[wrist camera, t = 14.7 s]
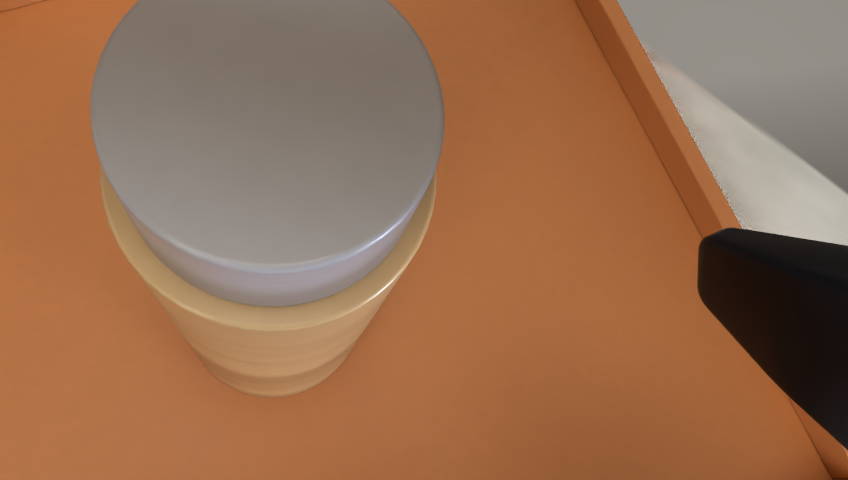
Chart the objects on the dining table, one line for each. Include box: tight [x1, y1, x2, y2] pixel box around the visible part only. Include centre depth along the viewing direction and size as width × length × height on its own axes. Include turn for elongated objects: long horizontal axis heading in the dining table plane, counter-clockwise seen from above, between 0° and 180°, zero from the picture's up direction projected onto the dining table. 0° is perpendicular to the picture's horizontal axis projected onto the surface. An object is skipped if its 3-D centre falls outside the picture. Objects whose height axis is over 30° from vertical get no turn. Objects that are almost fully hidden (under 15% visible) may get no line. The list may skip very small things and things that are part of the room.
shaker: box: [90, 0, 445, 398], centre depth 15 cm, size 5×5×13 cm
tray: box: [0, 0, 848, 480], centre depth 21 cm, size 23×27×2 cm
